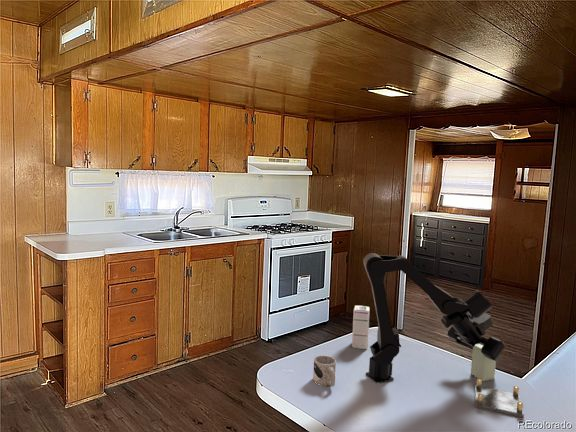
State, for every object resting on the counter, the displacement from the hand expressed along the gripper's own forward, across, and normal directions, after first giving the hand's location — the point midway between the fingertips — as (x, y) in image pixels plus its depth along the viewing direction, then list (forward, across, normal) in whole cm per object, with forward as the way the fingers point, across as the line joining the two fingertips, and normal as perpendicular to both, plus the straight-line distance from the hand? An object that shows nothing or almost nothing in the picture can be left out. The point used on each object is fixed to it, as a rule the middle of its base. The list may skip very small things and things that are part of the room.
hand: (486, 354), depth 144 cm
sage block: (+4, 0, +6) cm, 7 cm away
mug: (-32, +12, +42) cm, 54 cm away
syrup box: (-13, +34, +24) cm, 43 cm away
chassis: (-2, -14, +12) cm, 19 cm away
